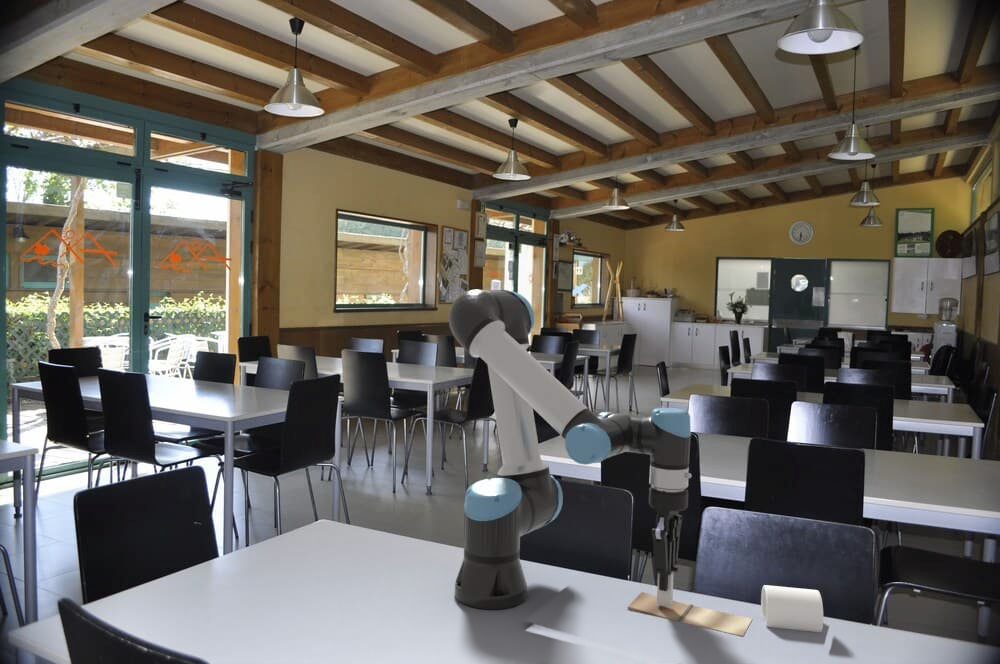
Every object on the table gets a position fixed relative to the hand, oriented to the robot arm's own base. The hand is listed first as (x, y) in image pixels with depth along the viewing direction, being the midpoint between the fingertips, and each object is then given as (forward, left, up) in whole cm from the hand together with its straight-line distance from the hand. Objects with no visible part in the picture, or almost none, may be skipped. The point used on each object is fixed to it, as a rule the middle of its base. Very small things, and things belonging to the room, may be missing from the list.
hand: (664, 604), depth 149 cm
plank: (-1, 0, -2) cm, 2 cm away
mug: (+22, +9, -2) cm, 24 cm away
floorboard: (+10, 0, -2) cm, 10 cm away
